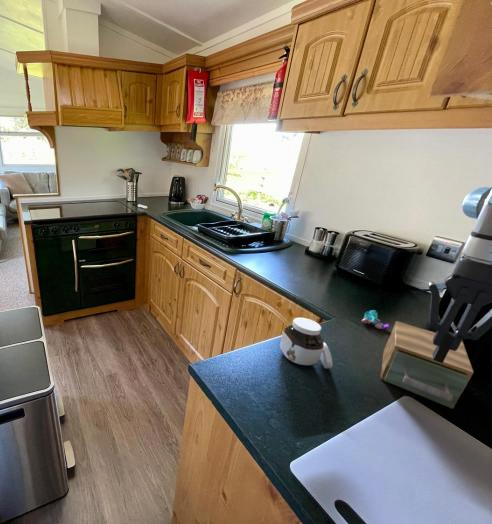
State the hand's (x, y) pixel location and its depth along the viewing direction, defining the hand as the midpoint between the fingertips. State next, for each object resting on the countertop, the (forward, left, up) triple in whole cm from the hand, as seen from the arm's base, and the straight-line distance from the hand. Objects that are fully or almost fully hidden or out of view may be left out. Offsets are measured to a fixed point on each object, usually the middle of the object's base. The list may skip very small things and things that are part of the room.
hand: (437, 358), depth 65 cm
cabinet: (0, -13, -13) cm, 19 cm away
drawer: (0, -8, -12) cm, 14 cm away
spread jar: (+24, +2, -13) cm, 27 cm away
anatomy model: (+11, -38, -13) cm, 42 cm away
